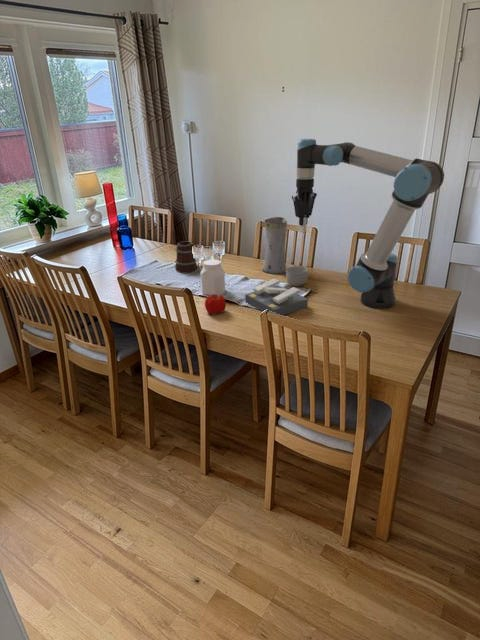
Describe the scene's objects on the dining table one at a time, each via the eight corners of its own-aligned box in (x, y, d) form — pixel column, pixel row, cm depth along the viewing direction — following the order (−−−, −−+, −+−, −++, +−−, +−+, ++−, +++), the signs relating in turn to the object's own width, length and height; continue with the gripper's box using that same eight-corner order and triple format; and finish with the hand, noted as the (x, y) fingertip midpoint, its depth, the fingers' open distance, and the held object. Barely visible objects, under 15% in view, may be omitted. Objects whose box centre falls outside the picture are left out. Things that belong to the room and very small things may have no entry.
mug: (189, 274, 238) (187, 247, 231) (171, 270, 243) (169, 244, 236) (205, 265, 250) (203, 239, 243) (187, 262, 255) (185, 237, 248)
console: (307, 307, 196) (308, 291, 193) (274, 318, 187) (274, 302, 183) (277, 292, 212) (277, 278, 208) (245, 302, 202) (245, 287, 199)
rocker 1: (279, 283, 203) (279, 280, 202) (259, 293, 198) (258, 290, 197) (274, 280, 206) (273, 277, 205) (253, 290, 201) (253, 287, 200)
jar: (228, 290, 216) (227, 260, 209) (219, 297, 208) (217, 266, 202) (208, 286, 221) (206, 257, 214) (198, 293, 213) (196, 263, 206)
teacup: (306, 288, 216) (307, 273, 212) (284, 287, 218) (284, 272, 214) (308, 278, 228) (308, 264, 224) (287, 277, 230) (287, 263, 226)
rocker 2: (288, 293, 198) (289, 290, 198) (268, 293, 191) (269, 289, 191) (282, 290, 201) (283, 287, 201) (262, 290, 194) (263, 286, 194)
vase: (259, 274, 236) (260, 222, 223) (266, 265, 248) (266, 216, 235) (283, 276, 233) (285, 224, 220) (288, 267, 244) (290, 217, 231)
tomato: (201, 312, 194) (200, 296, 190) (216, 306, 199) (216, 290, 196) (215, 318, 188) (215, 302, 184) (230, 312, 193) (230, 296, 190)
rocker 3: (300, 292, 192) (299, 289, 191) (279, 303, 187) (278, 300, 186) (293, 289, 195) (293, 286, 194) (273, 300, 190) (272, 297, 189)
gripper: (310, 175, 195) (307, 228, 205) (287, 178, 188) (286, 232, 198) (322, 177, 189) (319, 231, 199) (299, 180, 182) (297, 236, 193)
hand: (302, 232), depth 199 cm, fingers closed
